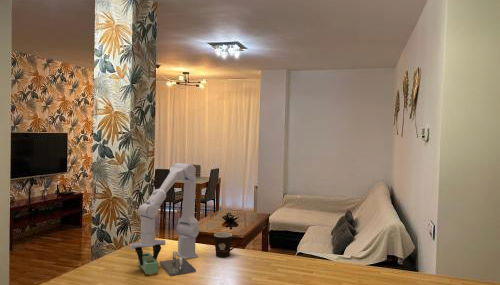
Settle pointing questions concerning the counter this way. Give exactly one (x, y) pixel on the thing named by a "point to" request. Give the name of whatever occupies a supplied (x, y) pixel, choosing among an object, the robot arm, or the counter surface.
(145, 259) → the green block with holes
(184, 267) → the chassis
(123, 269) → the counter surface
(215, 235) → the coffee mug
